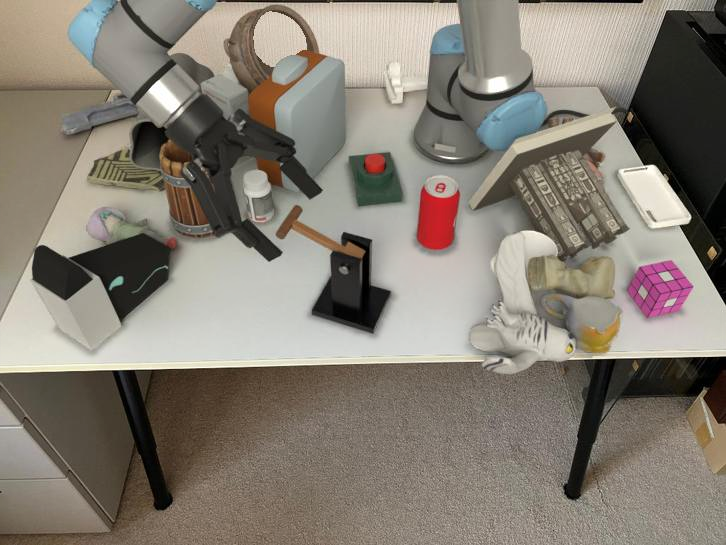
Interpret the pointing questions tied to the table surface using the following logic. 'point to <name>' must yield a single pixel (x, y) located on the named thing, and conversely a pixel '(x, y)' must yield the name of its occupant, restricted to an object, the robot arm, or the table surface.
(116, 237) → the toy
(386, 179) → the button box
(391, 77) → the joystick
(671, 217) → the phone case
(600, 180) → the figurine
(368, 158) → the button
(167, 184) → the mug
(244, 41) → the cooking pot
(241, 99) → the ink box
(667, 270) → the puzzle toy
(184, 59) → the vase
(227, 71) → the toy car
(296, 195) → the table surface
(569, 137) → the building model
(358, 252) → the lever
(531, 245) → the cup
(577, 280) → the sculpture
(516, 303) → the toy
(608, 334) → the mug
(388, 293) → the bracket
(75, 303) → the decorative object
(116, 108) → the handgun
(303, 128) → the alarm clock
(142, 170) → the pottery shard
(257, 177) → the pill bottle
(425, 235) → the beverage can
